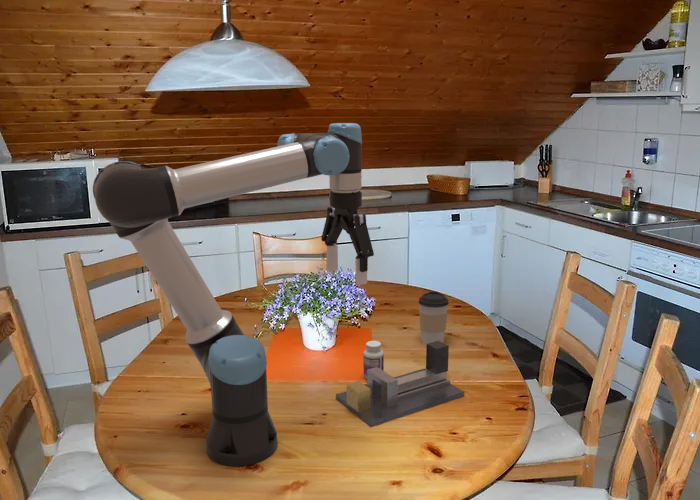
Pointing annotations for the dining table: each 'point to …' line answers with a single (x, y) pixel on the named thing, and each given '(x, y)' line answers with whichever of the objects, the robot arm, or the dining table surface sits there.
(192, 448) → the dining table surface
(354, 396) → the block
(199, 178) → the robot arm
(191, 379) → the dining table surface
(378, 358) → the pill bottle
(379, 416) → the slotted base plate
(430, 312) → the coffee cup
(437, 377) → the sliding bolt with handle
